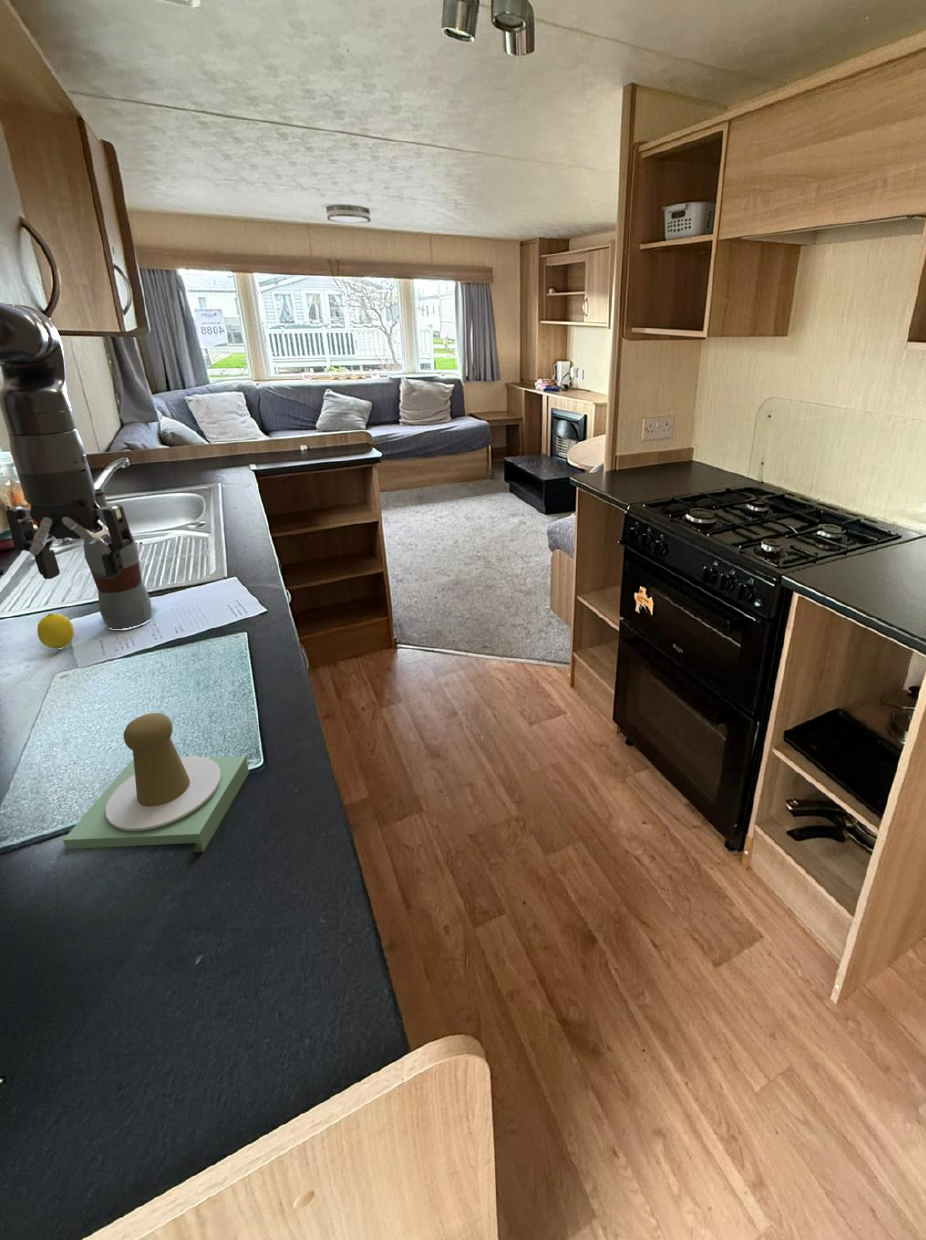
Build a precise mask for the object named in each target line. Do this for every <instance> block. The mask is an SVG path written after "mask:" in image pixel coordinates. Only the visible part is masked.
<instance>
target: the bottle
mask: <svg viewBox="0 0 926 1240" xmlns="http://www.w3.org/2000/svg"><path fill="white" fill-rule="evenodd" d="M95 502H96V503H97V505H98V506H99V507H109V506H108V502H107V500H106V496H105V490H104V488H103V489H102V488H95ZM99 521H100V522H101V523H102V524H103V525H105V526H106V527H107V525H106V522H103V521H102V518H101V517H100V518H99ZM91 533H94V534H95V533H97V532H96V531H95V530H94V529H93V531H92V532H91ZM131 536H132V539H133V543H132V544H130V545H128V546H126V547H125V548H123V549H121V550H120V554H121V558H122V562H123V566H124V569H123V571H122V572H121V574H120V575H119V576H117V577H116V578H107V575H106V572H105V568H104V564H103V560H102V557H101V555H103V553H102V552H101V551H100V550H99V549H98V548H96V547H95V546H94V545H93V544H89V543H87V542H86V541H85V540H84V539H83V553H84V559H85V561H86V564H87V565H88V568H89V570H90V573H91V576H92V578H93V581H94V583H95V585H96V586H95V587H96V589H97V595H98V606H99V613H100V615H101V618H102V620H103V622H104V624H105V625H106V627H107V628H108V627H109V628H112V629H123V628H129V627H133V626H137V625H140V624H142V623H144V622H146V621H147V620H149V619H150V618H151V619H152V612H153V610H152V601H151V598H150V596H149V593H148V590H147V587H146V586H145V584H144V582H143V577H142V569H141V564H140V558H139V547H138V545H137V542H136V539H135V537H134V535H133V533H131ZM109 628H108V629H109Z"/></svg>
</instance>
